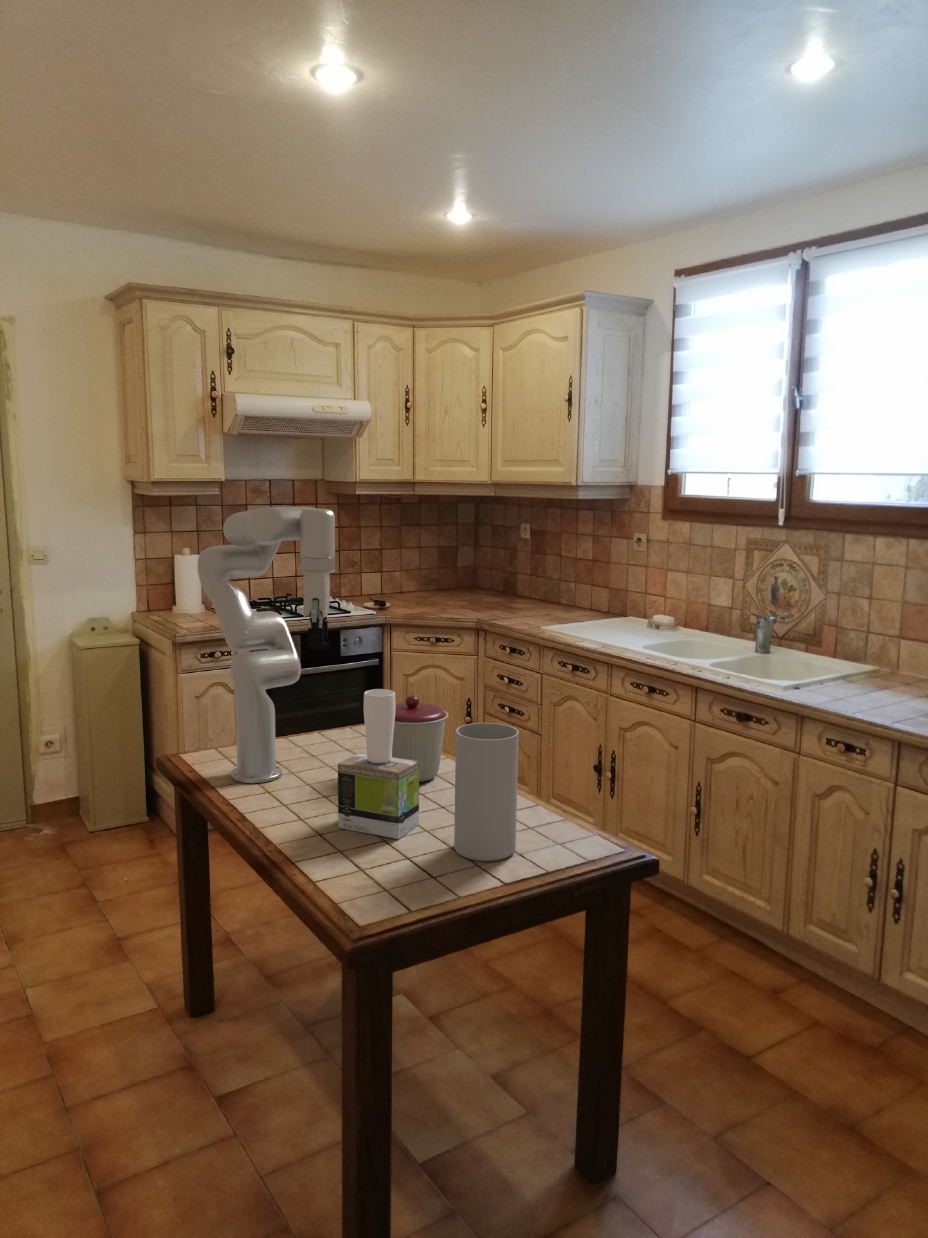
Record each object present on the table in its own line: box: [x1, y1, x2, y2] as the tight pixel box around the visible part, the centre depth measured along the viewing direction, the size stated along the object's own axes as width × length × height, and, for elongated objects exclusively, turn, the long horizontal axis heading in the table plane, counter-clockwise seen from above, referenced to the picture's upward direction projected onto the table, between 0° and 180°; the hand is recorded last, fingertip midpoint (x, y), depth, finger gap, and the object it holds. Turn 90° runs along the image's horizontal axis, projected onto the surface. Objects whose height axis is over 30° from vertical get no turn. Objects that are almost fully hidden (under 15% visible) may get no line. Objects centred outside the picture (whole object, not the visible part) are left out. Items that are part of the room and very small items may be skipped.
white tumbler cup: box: [363, 688, 397, 764], centre depth 192 cm, size 7×7×15 cm
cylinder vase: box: [453, 722, 520, 862], centre depth 182 cm, size 12×12×25 cm
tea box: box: [337, 752, 420, 840], centre depth 194 cm, size 15×10×15 cm, turn 65°
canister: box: [392, 695, 449, 783], centre depth 226 cm, size 18×18×21 cm
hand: (318, 642), depth 200 cm, fingers open, 9 cm apart
